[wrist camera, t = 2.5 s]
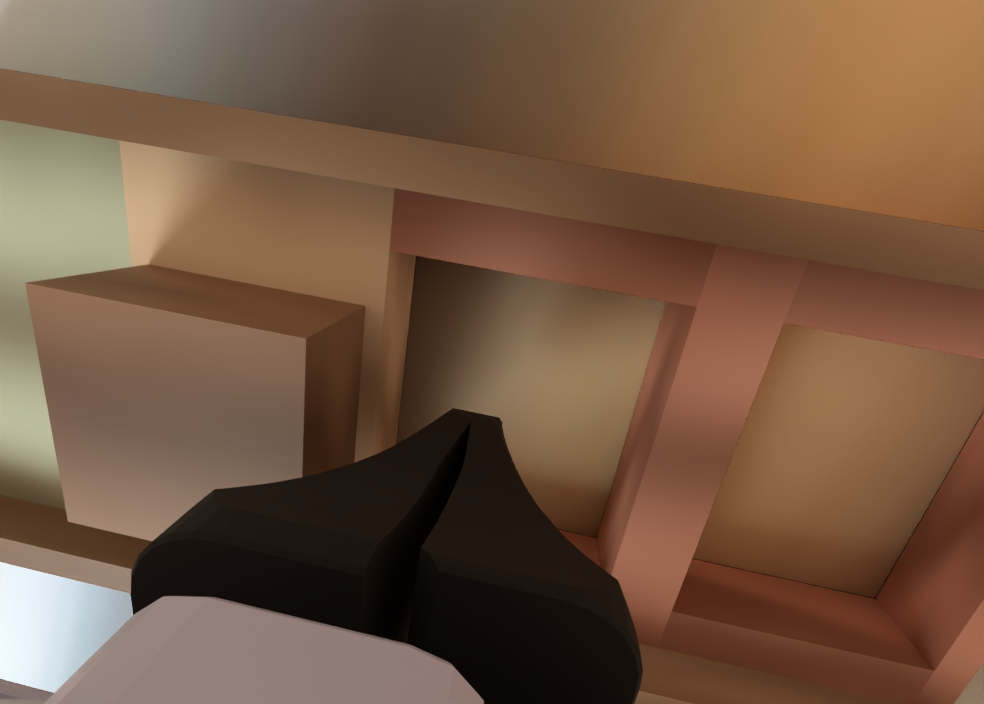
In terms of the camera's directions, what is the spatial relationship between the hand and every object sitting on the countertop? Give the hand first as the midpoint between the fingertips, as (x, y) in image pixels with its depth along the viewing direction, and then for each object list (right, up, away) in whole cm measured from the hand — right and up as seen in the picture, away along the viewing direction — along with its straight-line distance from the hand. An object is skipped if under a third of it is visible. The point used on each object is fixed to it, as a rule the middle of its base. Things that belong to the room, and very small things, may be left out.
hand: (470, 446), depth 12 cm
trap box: (0, +1, +3) cm, 3 cm away
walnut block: (-6, +1, +1) cm, 6 cm away
